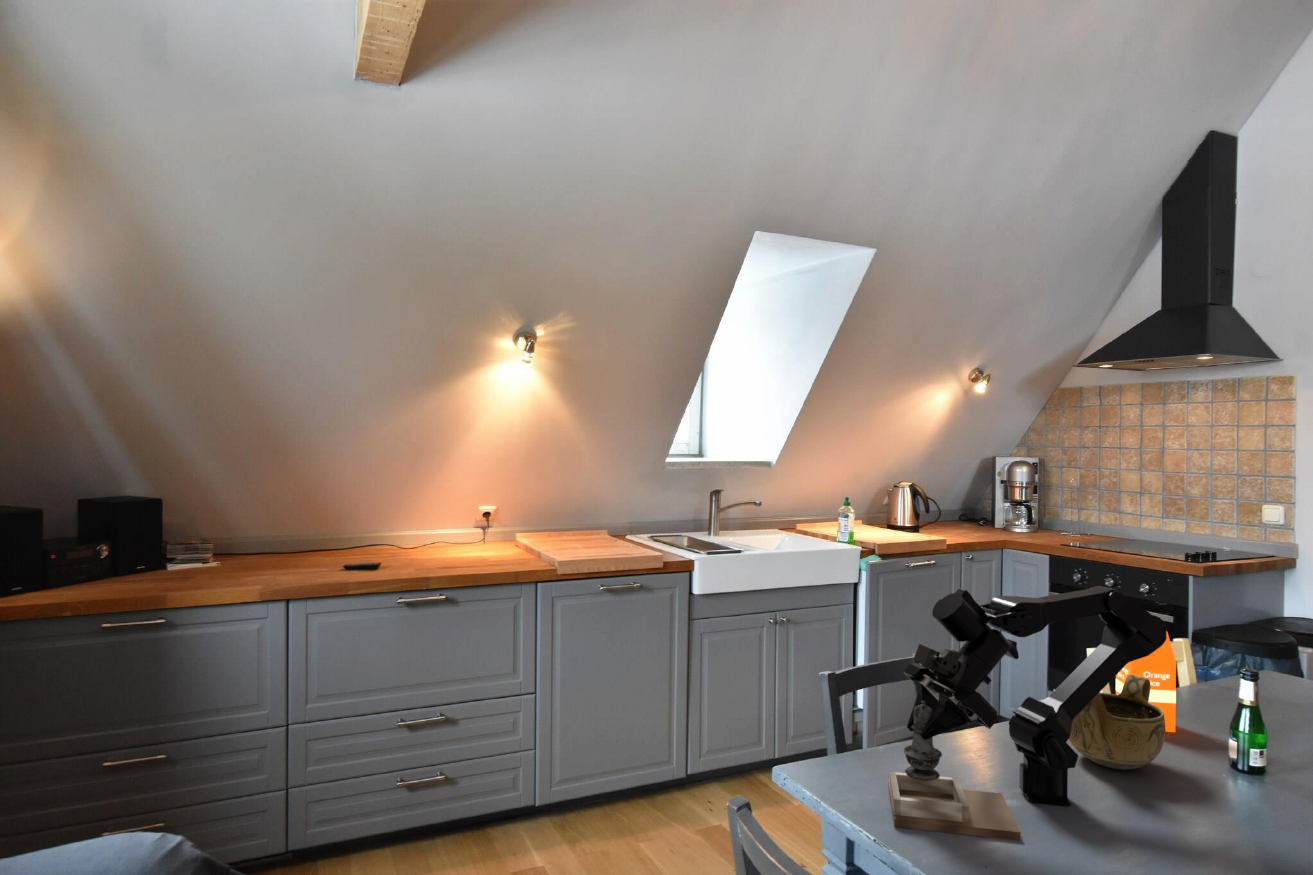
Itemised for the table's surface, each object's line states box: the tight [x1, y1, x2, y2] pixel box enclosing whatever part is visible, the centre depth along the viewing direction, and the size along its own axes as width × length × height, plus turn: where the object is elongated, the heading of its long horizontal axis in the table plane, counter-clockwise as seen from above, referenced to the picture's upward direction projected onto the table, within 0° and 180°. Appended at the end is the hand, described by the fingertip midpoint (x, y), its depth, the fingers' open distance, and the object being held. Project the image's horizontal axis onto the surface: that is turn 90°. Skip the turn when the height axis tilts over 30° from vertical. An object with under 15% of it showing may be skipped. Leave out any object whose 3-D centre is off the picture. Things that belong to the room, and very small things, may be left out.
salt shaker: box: [903, 700, 943, 781], centre depth 132 cm, size 6×6×12 cm
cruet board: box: [887, 771, 1021, 841], centre depth 131 cm, size 18×14×4 cm
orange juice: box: [1115, 630, 1177, 733], centre depth 174 cm, size 8×9×20 cm
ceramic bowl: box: [1068, 675, 1167, 771], centre depth 153 cm, size 22×17×15 cm
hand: (915, 733), depth 132 cm, fingers closed on salt shaker, 4 cm apart
